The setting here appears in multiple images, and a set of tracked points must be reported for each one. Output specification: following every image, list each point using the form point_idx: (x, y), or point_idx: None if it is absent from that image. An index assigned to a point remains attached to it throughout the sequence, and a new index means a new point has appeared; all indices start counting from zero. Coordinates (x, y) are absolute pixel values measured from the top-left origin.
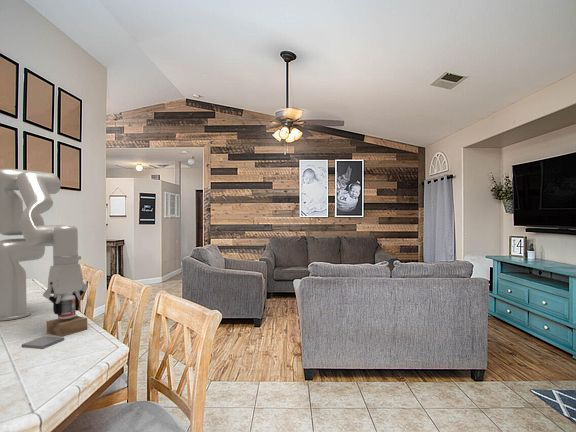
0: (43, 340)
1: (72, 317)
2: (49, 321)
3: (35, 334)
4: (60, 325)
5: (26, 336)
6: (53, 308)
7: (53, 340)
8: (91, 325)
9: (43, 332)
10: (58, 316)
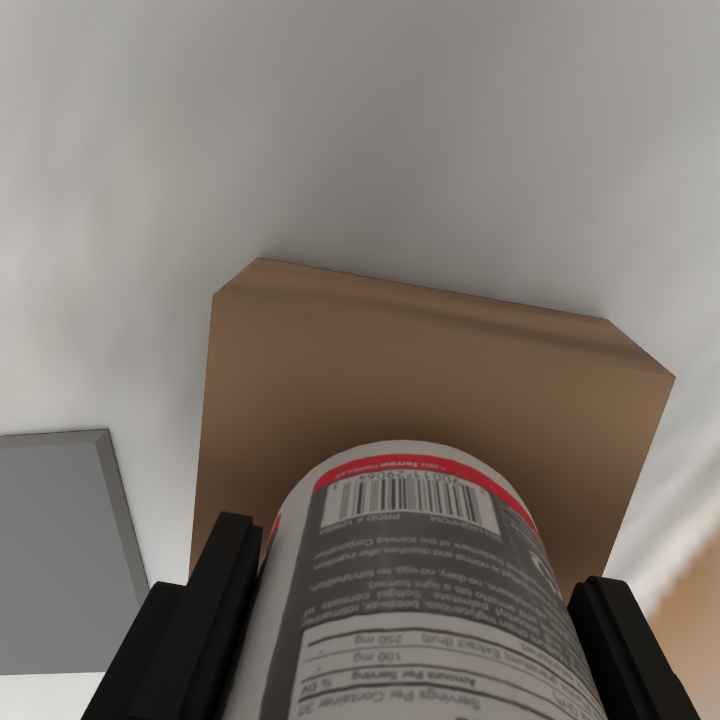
0: (4, 561)
1: (529, 508)
2: (228, 352)
3: (157, 161)
4: None
5: (52, 120)
6: (126, 637)
7: (55, 644)
8: (664, 536)
9: (257, 187)
10: (269, 538)
